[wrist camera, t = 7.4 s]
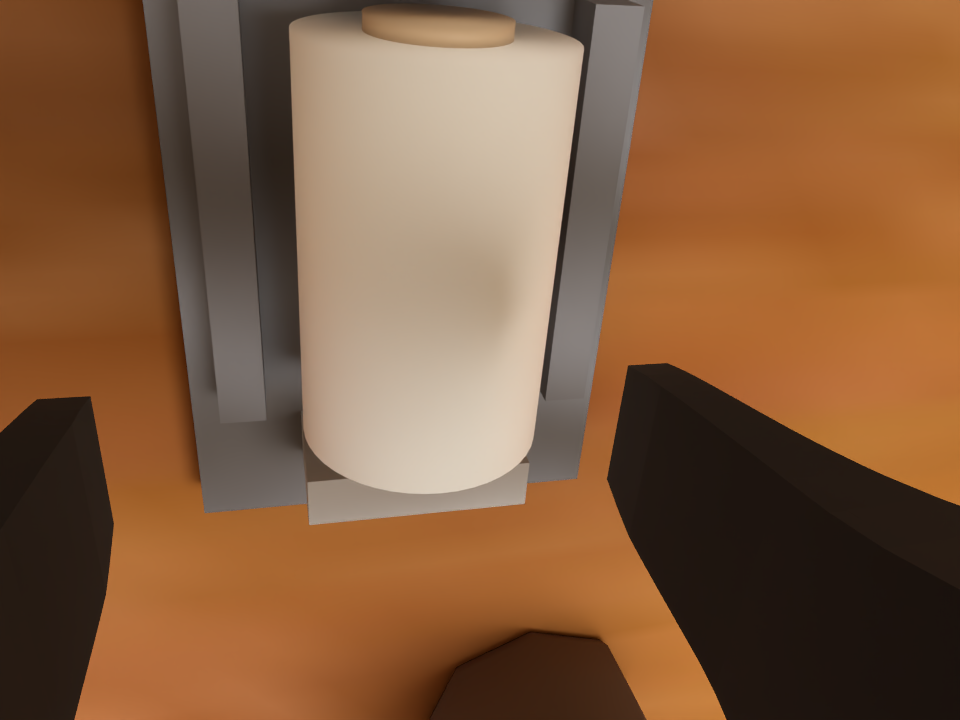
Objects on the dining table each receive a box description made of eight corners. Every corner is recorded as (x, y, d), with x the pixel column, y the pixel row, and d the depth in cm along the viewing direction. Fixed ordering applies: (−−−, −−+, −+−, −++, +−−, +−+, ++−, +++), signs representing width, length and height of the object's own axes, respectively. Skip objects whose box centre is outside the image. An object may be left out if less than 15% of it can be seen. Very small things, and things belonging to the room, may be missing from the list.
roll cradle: (563, 453, 25) (612, 546, 21) (207, 483, 22) (198, 593, 19) (659, -200, 17) (761, -215, 13) (120, -258, 14) (80, -292, 11)
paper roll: (500, 368, 21) (562, 493, 17) (297, 380, 20) (311, 517, 16) (537, 1, 17) (632, 48, 13) (283, -12, 16) (296, 35, 12)
